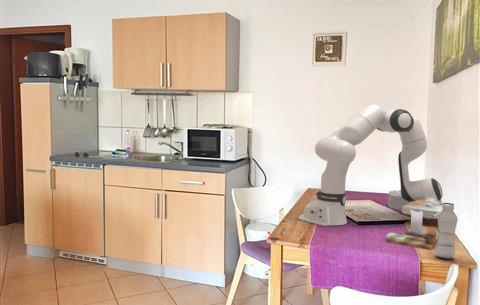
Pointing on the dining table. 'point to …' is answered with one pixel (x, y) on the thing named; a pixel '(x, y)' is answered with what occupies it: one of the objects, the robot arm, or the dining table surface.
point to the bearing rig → (414, 239)
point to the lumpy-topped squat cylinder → (396, 200)
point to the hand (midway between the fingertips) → (422, 215)
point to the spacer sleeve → (416, 221)
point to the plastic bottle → (446, 232)
